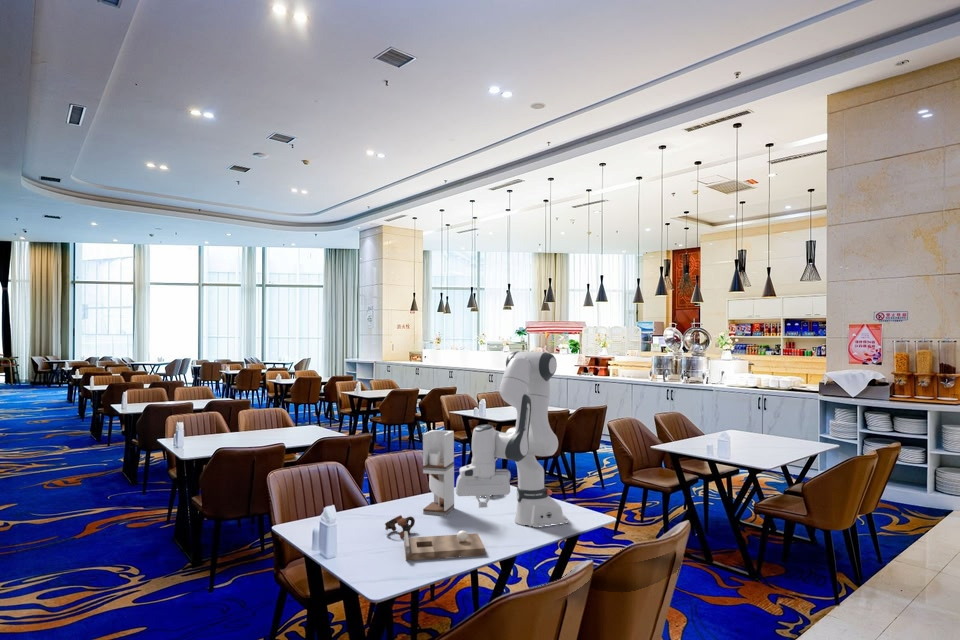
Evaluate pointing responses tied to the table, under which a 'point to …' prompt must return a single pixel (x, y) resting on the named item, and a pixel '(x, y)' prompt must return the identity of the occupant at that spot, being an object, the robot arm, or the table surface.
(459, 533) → the ball
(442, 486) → the white shelf tower
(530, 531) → the table surface
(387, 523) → the brown looped piece
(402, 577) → the table surface
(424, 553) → the board
